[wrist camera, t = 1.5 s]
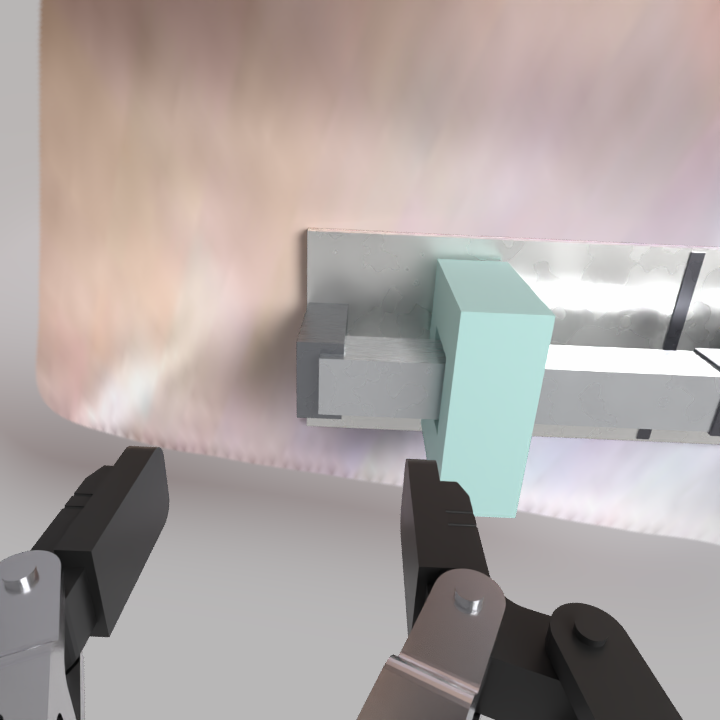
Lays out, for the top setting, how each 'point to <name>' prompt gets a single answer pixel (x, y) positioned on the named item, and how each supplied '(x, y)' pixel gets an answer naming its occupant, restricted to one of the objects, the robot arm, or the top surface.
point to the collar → (487, 379)
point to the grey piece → (567, 347)
